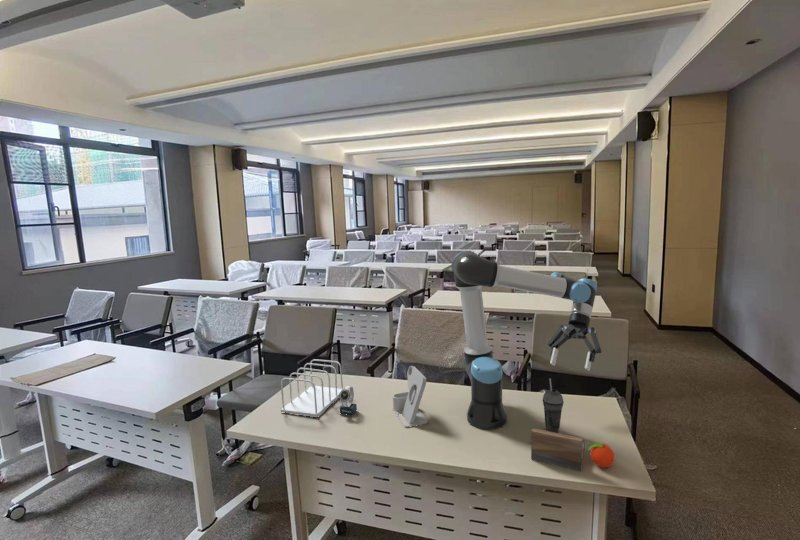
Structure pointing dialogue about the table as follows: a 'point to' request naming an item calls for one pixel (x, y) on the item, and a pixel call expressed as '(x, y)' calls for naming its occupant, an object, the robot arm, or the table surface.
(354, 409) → the webcam
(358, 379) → the table surface
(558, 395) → the beverage cup
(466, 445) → the table surface
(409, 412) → the phone holder
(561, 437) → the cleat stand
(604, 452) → the clementine
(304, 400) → the file sorter
